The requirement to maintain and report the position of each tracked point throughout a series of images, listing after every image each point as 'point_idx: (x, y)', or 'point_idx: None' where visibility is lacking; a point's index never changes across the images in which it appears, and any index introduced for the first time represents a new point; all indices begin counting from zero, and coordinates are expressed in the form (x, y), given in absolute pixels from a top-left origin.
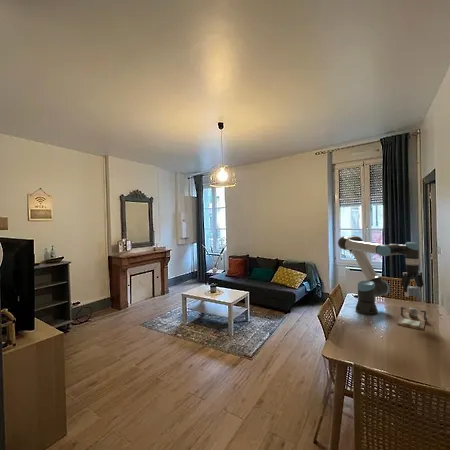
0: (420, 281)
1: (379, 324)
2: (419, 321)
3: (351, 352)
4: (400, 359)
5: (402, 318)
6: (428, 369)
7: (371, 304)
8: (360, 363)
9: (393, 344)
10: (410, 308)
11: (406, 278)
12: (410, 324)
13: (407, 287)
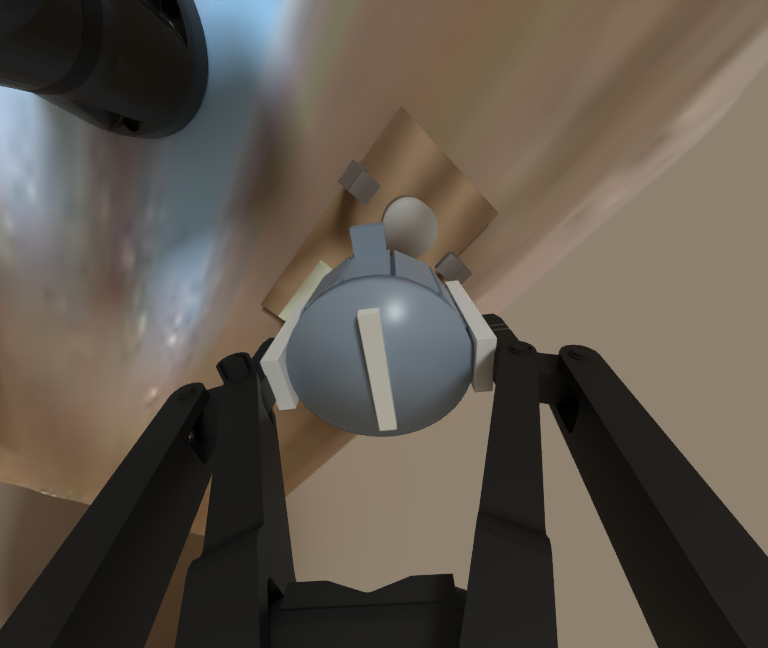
0: (581, 449)
1: (172, 289)
2: None
3: (47, 467)
4: None
5: (321, 244)
6: None
7: (74, 98)
8: (74, 499)
9: None
10: (396, 219)
11: (209, 536)
12: None
13: (309, 359)
